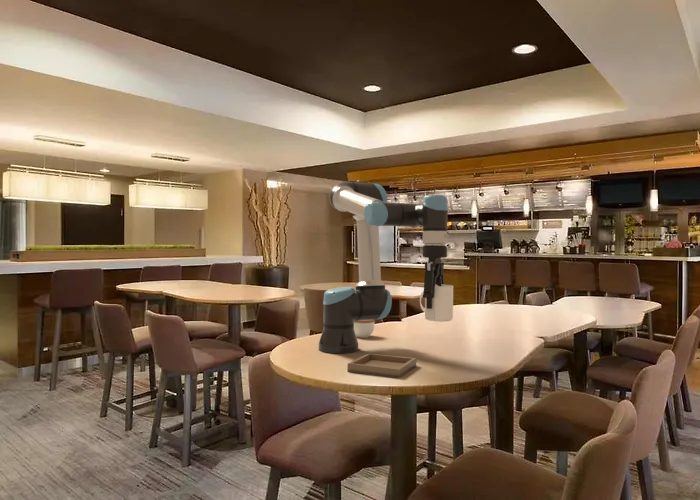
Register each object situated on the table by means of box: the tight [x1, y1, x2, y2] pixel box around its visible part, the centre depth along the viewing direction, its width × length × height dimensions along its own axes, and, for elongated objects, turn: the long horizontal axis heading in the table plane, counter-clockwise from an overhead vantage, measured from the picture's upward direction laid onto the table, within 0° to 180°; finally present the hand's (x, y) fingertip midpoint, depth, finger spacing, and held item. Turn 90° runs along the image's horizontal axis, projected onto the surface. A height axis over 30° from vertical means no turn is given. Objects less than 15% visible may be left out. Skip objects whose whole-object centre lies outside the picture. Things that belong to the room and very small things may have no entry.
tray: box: [346, 353, 417, 379], centre depth 160 cm, size 17×17×2 cm
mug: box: [419, 283, 454, 323], centre depth 157 cm, size 9×12×11 cm
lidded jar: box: [354, 320, 376, 339], centre depth 219 cm, size 11×11×9 cm
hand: (434, 317), depth 156 cm, fingers closed on mug, 9 cm apart
